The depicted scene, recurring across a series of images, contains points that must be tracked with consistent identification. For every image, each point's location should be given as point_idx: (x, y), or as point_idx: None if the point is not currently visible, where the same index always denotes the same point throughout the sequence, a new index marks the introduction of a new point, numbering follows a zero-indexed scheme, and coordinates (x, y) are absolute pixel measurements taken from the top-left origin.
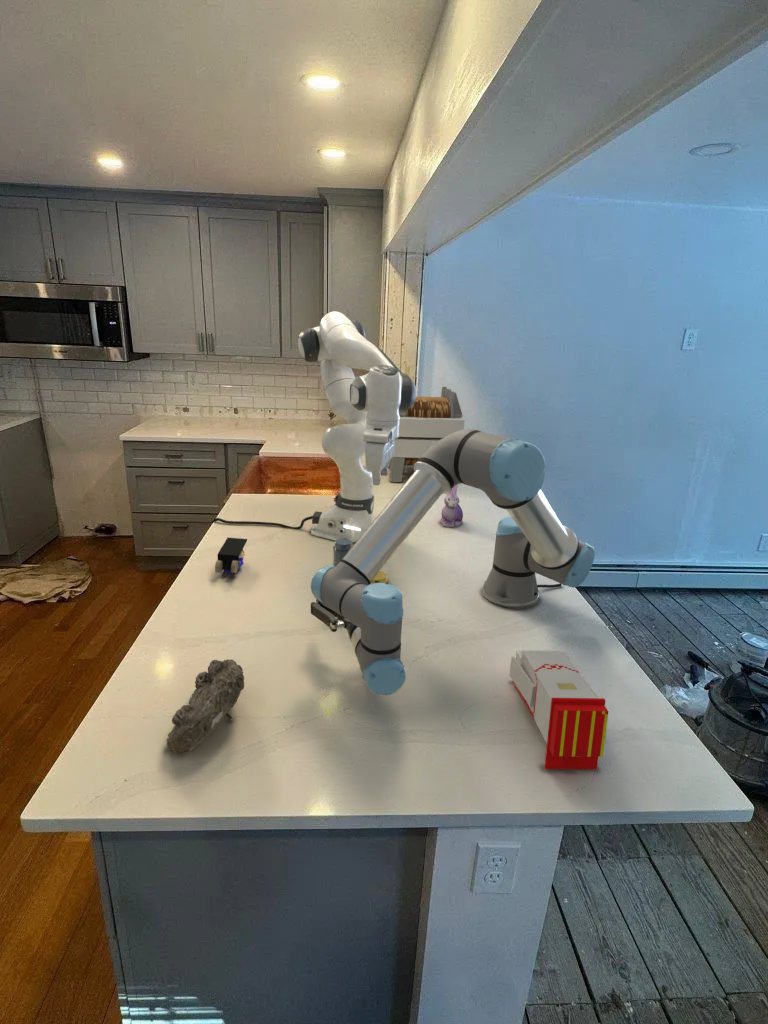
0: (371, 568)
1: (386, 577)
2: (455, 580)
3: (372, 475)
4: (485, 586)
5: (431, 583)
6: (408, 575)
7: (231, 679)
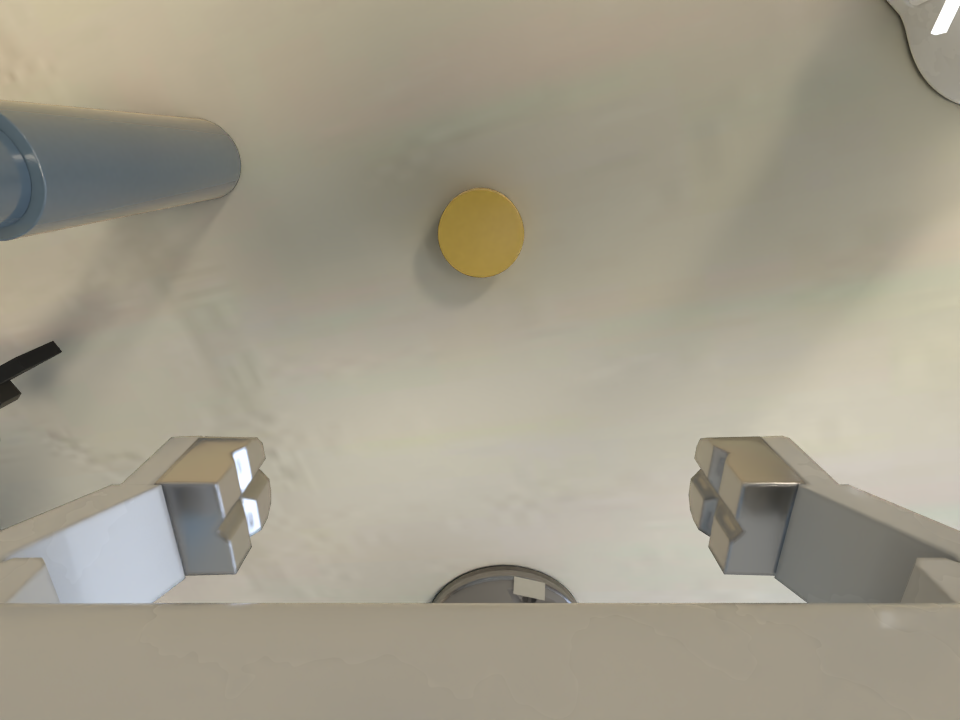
0: None
1: (477, 276)
2: (567, 489)
3: (23, 526)
4: (485, 591)
5: (523, 422)
6: (567, 339)
7: None
